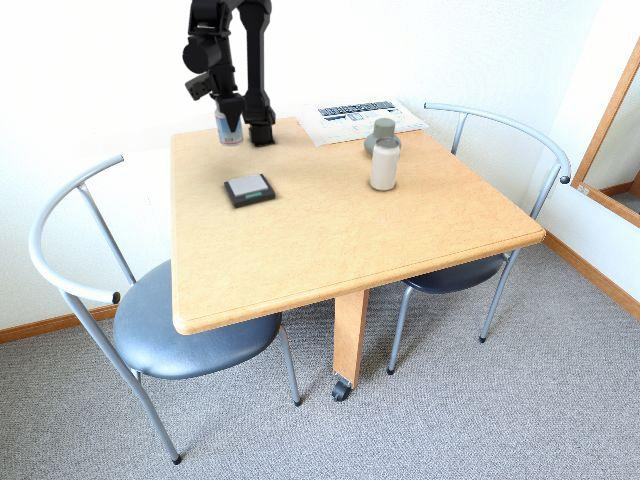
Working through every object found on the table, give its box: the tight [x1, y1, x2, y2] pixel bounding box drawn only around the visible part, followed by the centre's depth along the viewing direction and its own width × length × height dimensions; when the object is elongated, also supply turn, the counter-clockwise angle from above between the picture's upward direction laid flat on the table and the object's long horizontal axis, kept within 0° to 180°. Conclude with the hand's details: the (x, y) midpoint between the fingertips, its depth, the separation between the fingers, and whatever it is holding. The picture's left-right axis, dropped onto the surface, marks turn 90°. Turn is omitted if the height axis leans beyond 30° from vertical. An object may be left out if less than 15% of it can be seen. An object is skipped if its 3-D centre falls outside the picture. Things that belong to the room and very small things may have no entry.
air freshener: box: [363, 117, 402, 157], centre depth 107 cm, size 11×8×10 cm
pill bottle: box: [214, 98, 244, 148], centre depth 92 cm, size 6×6×11 cm
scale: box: [223, 173, 276, 209], centre depth 94 cm, size 10×10×2 cm
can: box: [369, 138, 401, 192], centre depth 93 cm, size 6×6×12 cm
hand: (230, 127), depth 93 cm, fingers closed on pill bottle, 6 cm apart
